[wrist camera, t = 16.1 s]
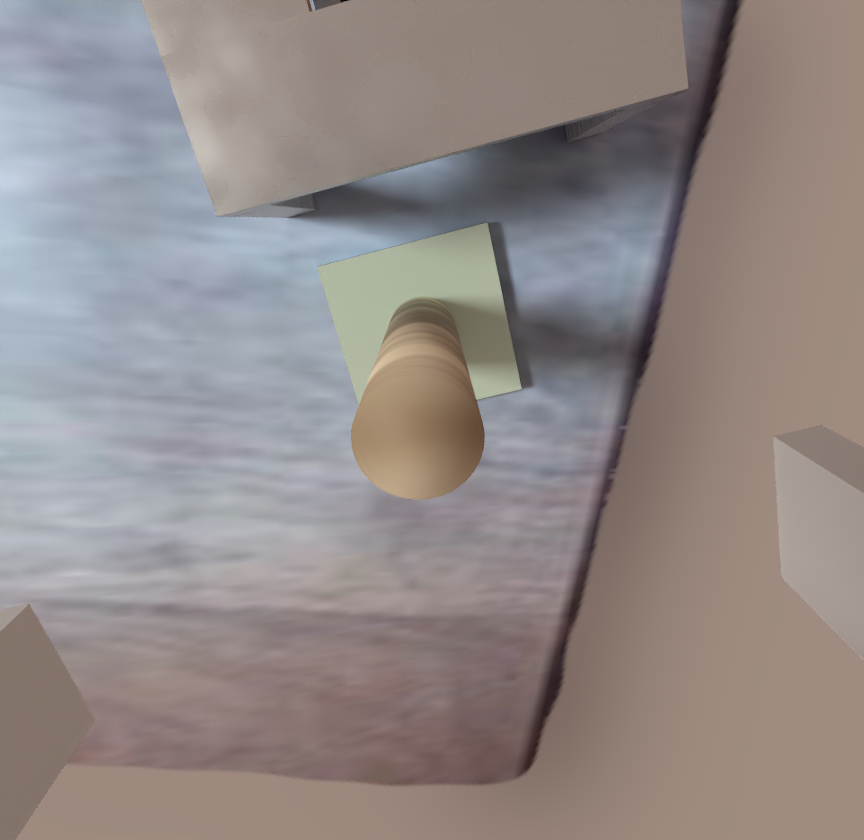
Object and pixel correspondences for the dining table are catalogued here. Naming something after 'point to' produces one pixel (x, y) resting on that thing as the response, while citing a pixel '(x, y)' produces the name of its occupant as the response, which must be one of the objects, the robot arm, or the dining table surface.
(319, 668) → the dining table surface
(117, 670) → the dining table surface
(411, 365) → the rod
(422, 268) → the pad
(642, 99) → the stand
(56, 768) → the robot arm
